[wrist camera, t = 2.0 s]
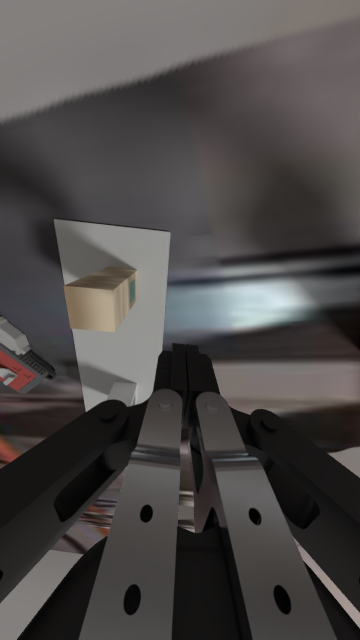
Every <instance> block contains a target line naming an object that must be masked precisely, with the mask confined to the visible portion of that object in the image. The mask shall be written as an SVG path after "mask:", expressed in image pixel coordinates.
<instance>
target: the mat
mask: <svg viewBox="0 0 360 640" xmlns="http://www.w3.org/2000/svg"><path fill="white" fill-rule="evenodd" d="M54 225H55V231H56V236H57V242H58V248H59V254H60V260H61V266H62V272H63V278H64V284H65V285H66V284H69V283H71V282H73V281H76V280H78V279H80V278H83V277H85V276H87V275H90V274H92V273H95V272H97V271H99V270H102V269H104V268H106V267H111V268H121V269H131V270H138V294H137V300H136V302H135V303H134V305H133V306H132V308H131V309H130V311H129V312H128V314H127V315H126V317H125V318H124V320H123V321H122V323H121V324H120V326H119V327H118V329H117V330H116V332H105V331H93V330H81V329H72V332H73V338H74V344H75V350H76V356H77V361H78V367H79V373H80V379H81V385H82V391H83V397H84V403H85V409H86V412H87V411H88V410H90V409H91V408H93V407H94V406H96V405H97V404H99V403H101V402H103V401H106V400H107V398H108V396H109V394H110V391H111V389H112V387H113V385H114V382H125V383H137V402H136V405H137V404H140V403H142V402H144V401H146V400H147V399H148V398H149V397H150V396H151V394H152V392H153V387H154V380H155V374H156V368H157V361H158V356H159V355H160V353H161V352H162V344H163V330H164V316H165V302H166V288H167V274H168V260H169V246H170V232H164V231H155V230H147V229H138V228H129V227H120V226H111V225H102V224H93V223H85V222H76V221H67V220H58V219H54Z"/></svg>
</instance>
